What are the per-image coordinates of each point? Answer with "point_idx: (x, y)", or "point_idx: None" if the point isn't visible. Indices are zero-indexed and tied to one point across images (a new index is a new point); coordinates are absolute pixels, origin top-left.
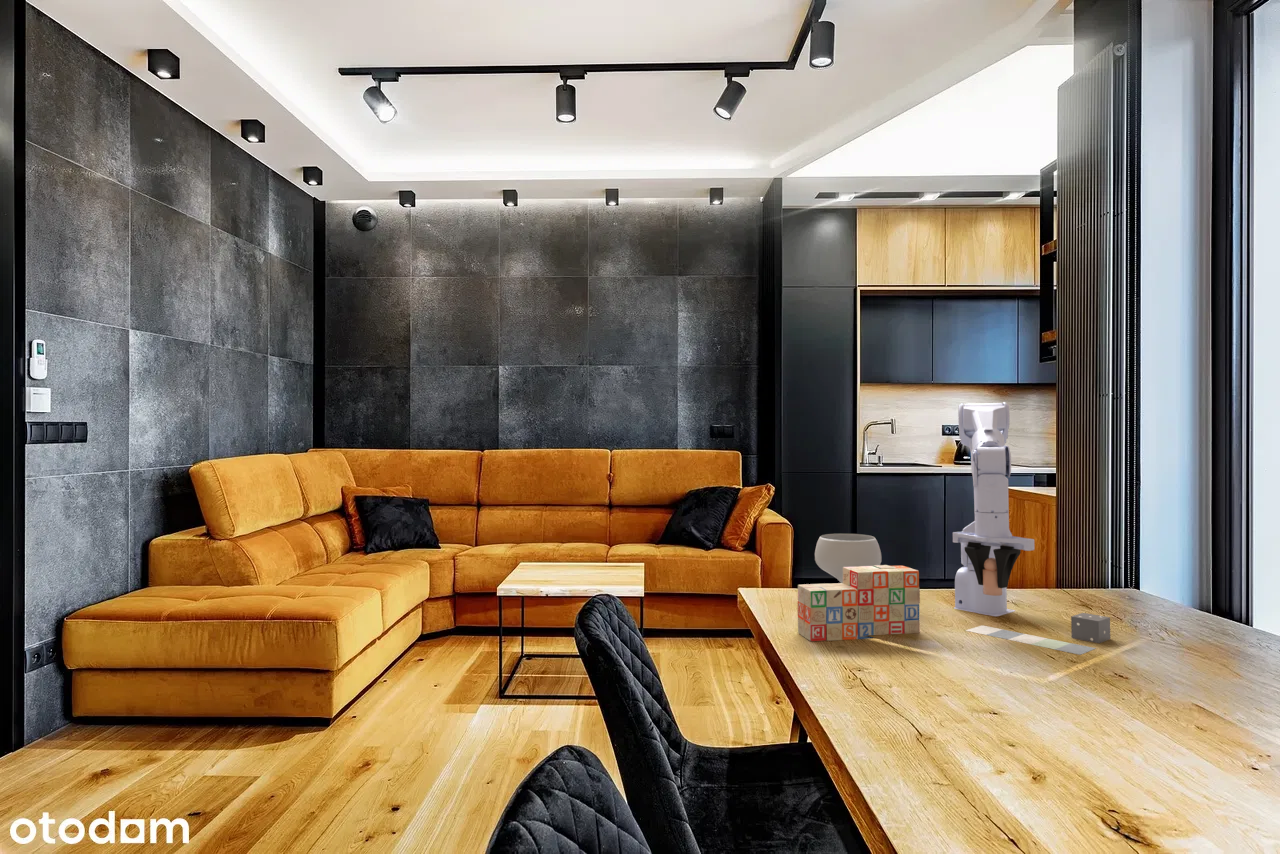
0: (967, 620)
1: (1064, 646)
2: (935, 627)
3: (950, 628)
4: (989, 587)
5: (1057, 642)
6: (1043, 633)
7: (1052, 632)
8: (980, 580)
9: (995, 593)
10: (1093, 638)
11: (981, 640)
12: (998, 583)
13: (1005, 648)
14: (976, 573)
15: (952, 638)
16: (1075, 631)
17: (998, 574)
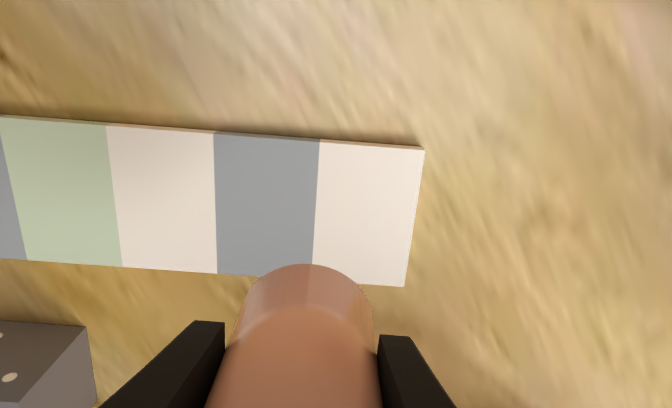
0: (498, 356)
1: (8, 193)
2: (574, 159)
3: (510, 190)
4: (292, 300)
5: (62, 234)
6: None
7: None
8: (391, 356)
9: (256, 286)
10: None
11: (317, 85)
12: (201, 339)
13: (174, 25)
14: (444, 405)
15: (434, 13)
16: (44, 353)
17: (150, 401)
